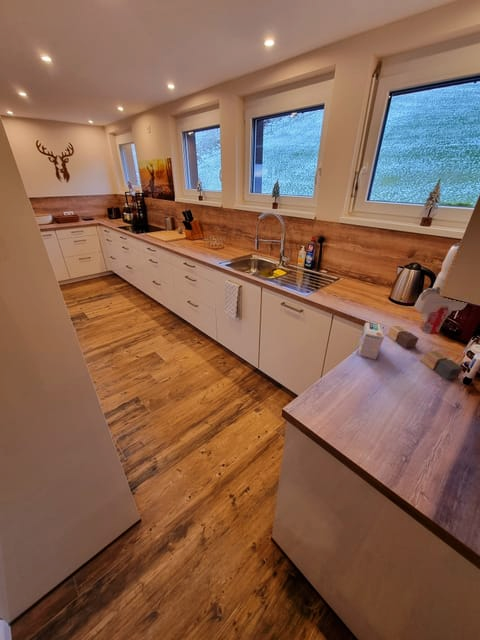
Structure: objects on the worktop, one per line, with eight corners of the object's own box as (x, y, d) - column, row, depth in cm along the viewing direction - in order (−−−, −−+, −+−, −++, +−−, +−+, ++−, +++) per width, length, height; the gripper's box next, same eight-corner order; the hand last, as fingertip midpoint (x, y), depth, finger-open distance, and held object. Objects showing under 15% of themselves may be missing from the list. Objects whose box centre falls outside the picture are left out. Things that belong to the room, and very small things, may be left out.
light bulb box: (358, 342, 116) (365, 321, 111) (375, 346, 114) (382, 324, 108) (358, 355, 107) (365, 333, 102) (376, 360, 105) (384, 337, 100)
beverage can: (435, 330, 105) (448, 303, 100) (438, 337, 100) (452, 309, 95) (417, 326, 108) (429, 299, 102) (420, 333, 103) (432, 305, 97)
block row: (396, 334, 123) (399, 325, 121) (457, 378, 97) (463, 367, 94) (387, 335, 122) (390, 326, 120) (446, 380, 96) (452, 369, 93)
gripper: (432, 291, 90) (417, 326, 97) (478, 289, 94) (461, 322, 101) (417, 285, 95) (404, 318, 102) (462, 282, 100) (447, 315, 106)
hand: (433, 320), depth 102 cm, fingers closed on beverage can, 6 cm apart
